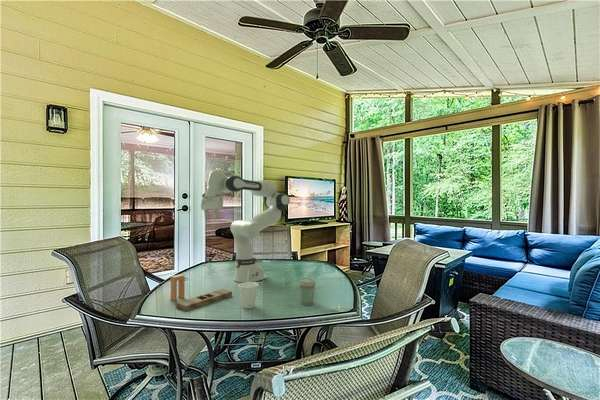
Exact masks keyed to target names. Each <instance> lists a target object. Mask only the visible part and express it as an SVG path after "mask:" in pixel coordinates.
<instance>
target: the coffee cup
mask: <svg viewBox="0 0 600 400" xmlns="http://www.w3.org/2000/svg"><path fill="white" fill-rule="evenodd" d="M298 285H299V294H300V295H299V296H300V304H301V305H303V306H312V305H314V295H315V288H316V281H315V279H314V278H307V277H305V278H301V279H299V283H298Z"/></svg>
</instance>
